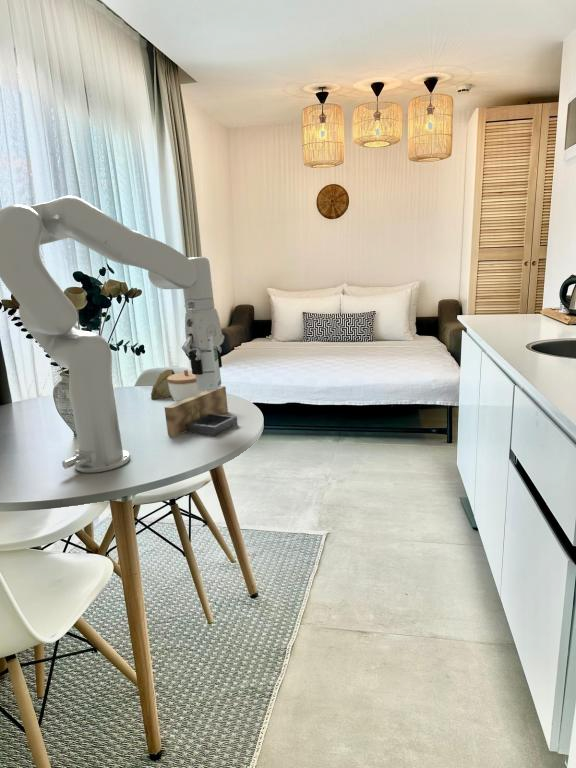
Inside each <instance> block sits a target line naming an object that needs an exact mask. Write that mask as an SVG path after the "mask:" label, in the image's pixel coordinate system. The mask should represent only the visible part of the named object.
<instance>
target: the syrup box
mask: <svg viewBox="0 0 576 768" xmlns="http://www.w3.org/2000/svg"><path fill="white" fill-rule="evenodd" d="M208 342H209V348H208V349H206V350H201V354H200V358H199V359H200V360H201V362H202V370H203V374H202V375H196V374H195V375H196V382H197V389H198V391H208V390H218V388H219V387H220V386H222V378H221V369H220V368H219V361H218V353H217V347H215V346H214V343H213V337H212V336H210V337H208ZM191 346H192V347H193V348H197V347H196V346H195V343H194V341H193V343H192V344H191ZM194 353H195V354H196V351H194Z"/></svg>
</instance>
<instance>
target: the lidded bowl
mask: <svg viewBox="0 0 576 768" xmlns="http://www.w3.org/2000/svg"><path fill="white" fill-rule="evenodd" d="M167 381H168V386H169V391H170V394H171V397H172V399H173V400H174V401H175V402H176V403H177V402H180V401H182V400H185V399H187V398H190V397H192V396H195V395H197V394H200V393H202V392H205V391H198V389H197V382H196V375H195V374H192V371H189V370H188V369H184V370H183V372H179V373H175V374H173V375H171V376H169V377H167Z"/></svg>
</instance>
